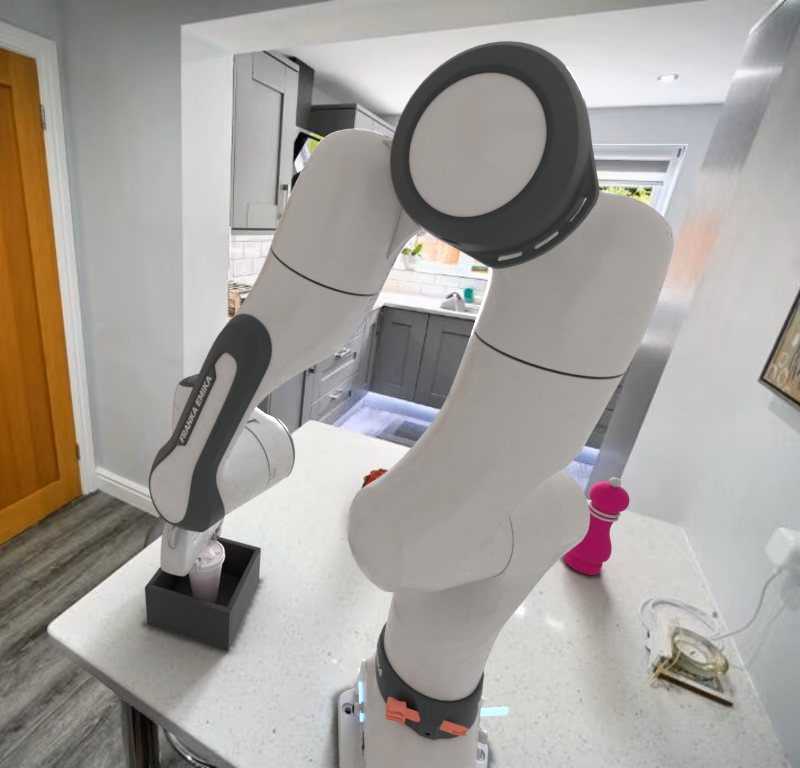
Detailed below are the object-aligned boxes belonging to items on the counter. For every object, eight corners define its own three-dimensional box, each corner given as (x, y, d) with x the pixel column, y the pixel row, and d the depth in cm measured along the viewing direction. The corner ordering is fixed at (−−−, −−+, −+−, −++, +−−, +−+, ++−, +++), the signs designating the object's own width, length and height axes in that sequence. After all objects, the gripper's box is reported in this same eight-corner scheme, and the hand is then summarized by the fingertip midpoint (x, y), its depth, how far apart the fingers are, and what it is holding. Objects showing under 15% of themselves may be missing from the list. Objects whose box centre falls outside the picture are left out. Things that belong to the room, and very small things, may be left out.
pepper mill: (605, 564, 87) (643, 479, 79) (598, 583, 82) (638, 495, 74) (565, 544, 91) (597, 462, 83) (556, 562, 86) (590, 477, 78)
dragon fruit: (377, 491, 107) (380, 530, 96) (352, 472, 105) (352, 509, 94) (403, 472, 103) (409, 511, 92) (377, 452, 101) (380, 489, 90)
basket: (228, 650, 64) (229, 613, 62) (147, 623, 67) (144, 587, 65) (259, 581, 77) (261, 547, 74) (188, 561, 80) (188, 528, 77)
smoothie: (206, 577, 76) (204, 511, 71) (233, 596, 72) (233, 527, 67) (177, 601, 71) (173, 532, 66) (205, 622, 68) (202, 551, 62)
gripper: (191, 530, 53) (192, 612, 58) (249, 448, 71) (246, 516, 77) (145, 518, 54) (150, 599, 60) (214, 441, 73) (213, 508, 78)
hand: (204, 552), depth 68 cm, fingers closed on smoothie, 6 cm apart
